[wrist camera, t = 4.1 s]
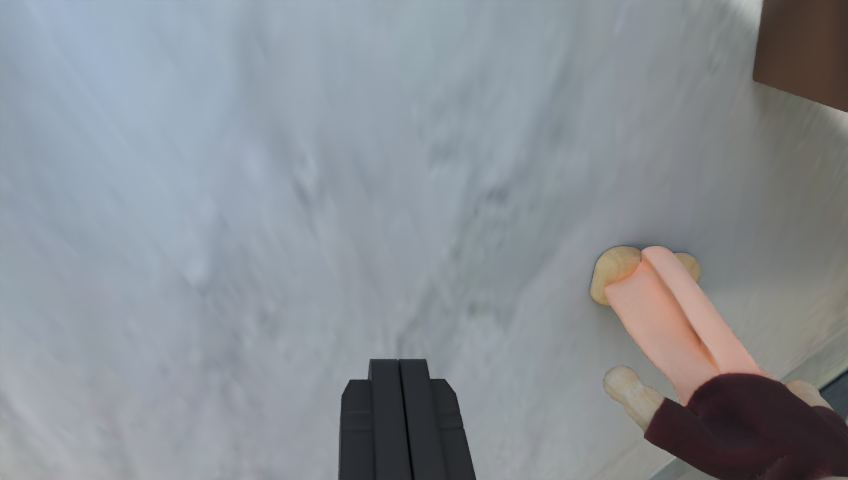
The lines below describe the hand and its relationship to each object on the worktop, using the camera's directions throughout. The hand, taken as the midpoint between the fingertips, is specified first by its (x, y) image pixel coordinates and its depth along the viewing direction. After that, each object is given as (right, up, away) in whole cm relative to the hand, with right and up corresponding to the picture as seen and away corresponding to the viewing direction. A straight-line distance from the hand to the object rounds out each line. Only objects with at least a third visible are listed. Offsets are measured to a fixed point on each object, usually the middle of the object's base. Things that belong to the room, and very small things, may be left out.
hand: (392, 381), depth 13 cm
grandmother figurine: (+9, +3, +7) cm, 12 cm away
